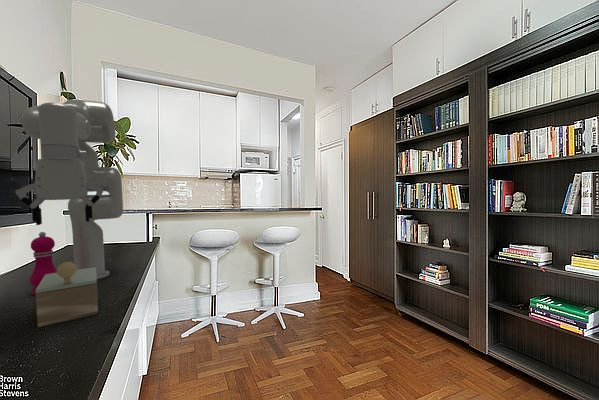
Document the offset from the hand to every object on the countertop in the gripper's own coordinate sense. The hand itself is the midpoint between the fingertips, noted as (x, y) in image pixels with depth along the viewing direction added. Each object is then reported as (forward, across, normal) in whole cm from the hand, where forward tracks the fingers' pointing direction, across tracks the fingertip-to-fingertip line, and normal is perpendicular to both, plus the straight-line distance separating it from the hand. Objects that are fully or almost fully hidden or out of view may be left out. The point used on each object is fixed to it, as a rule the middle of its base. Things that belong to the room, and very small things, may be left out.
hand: (64, 222), depth 75 cm
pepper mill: (+24, +8, -33) cm, 42 cm away
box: (+24, 0, -8) cm, 26 cm away
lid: (+16, 0, -8) cm, 18 cm away
